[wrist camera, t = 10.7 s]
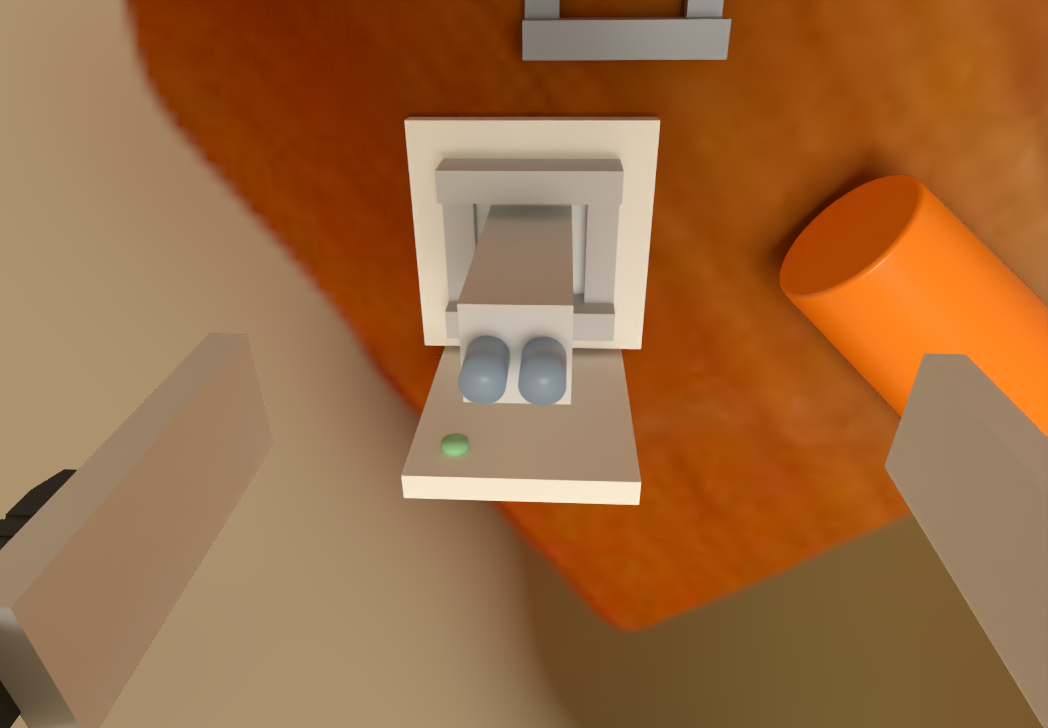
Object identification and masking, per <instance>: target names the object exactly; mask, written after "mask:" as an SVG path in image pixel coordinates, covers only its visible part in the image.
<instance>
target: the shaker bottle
mask: <svg viewBox="0 0 1048 728" xmlns="http://www.w3.org/2000/svg"><path fill="white" fill-rule="evenodd" d="M779 282H780V286H781V289H782V291H783V292H784V294H785V295H786V296H787V297H788V298H789V299H790V300H791V301H792V303H793V304H794V305H795V306H796V307H797V308H798V309H799V310H800V311H801V312H802V313H803V314H804V315H805V316H806V317H807V318H808V319H809V320H810V322H811V323H812V324H813V325H814V326H815V327H816V328H817V329H818V330H819V331H820V332H821V333H822V334H823V335H824V336H825V337H826V338H827V339H828V341H829V342H830V343H831V344H832V345H833V346H834V347H835V348H836V349H837V350H838V351H839V352H840V353H841V354H842V355H843V356H844V357H845V358H846V360H847V361H848V362H849V363H850V364H851V365H852V366H853V367H854V368H855V369H856V370H857V371H858V372H859V373H860V374H861V375H862V376H863V377H864V379H865V380H866V381H867V382H868V383H869V384H870V385H871V386H872V387H873V388H874V389H875V390H876V391H877V392H878V393H879V394H880V395H881V396H882V398H883V399H884V400H885V401H886V402H887V403H888V404H889V405H890V406H891V407H892V408H893V409H894V410H895V411H896V412H897V413H898V414H899V416H900V417H901V418H902V415H903V412H904V409H905V406H906V403H907V400H908V398H909V395H910V392H911V389H912V386H913V383H914V381H915V378H916V375H917V372H918V369H919V366H920V363H921V361H922V358H923V355H924V353H930V354H965V355H967V356H968V357H969V358H970V359H971V360H972V361H973V362H974V363H975V364H976V365H977V366H978V367H979V368H980V369H981V370H982V371H983V372H984V373H985V374H986V375H987V376H988V377H989V378H990V379H991V380H992V381H993V382H994V384H995V385H996V386H997V387H998V388H999V389H1000V390H1001V391H1002V392H1003V393H1004V394H1005V395H1006V396H1007V397H1008V398H1009V399H1010V400H1011V401H1012V402H1013V403H1014V404H1015V405H1016V406H1017V407H1018V408H1019V409H1020V410H1021V411H1022V412H1023V413H1024V414H1025V415H1026V416H1027V417H1028V418H1029V419H1030V420H1031V421H1032V422H1033V423H1034V424H1035V425H1036V426H1037V427H1038V428H1039V429H1040V430H1041V431H1042V432H1043V433H1044V434H1045V435H1046V436H1047V437H1048V307H1047V306H1046V305H1045V304H1044V303H1043V302H1042V301H1041V300H1040V299H1039V298H1038V297H1037V296H1036V295H1035V294H1034V293H1033V292H1032V291H1031V290H1030V289H1029V288H1028V287H1027V286H1026V285H1025V284H1024V283H1023V282H1022V281H1021V280H1020V279H1019V278H1018V277H1017V276H1016V275H1015V274H1014V273H1013V272H1012V271H1011V270H1010V269H1009V268H1007V267H1006V266H1005V265H1004V264H1003V263H1002V262H1001V261H1000V260H999V259H998V258H997V257H996V256H995V255H994V254H993V253H992V252H991V251H990V250H989V249H988V248H987V247H986V246H985V245H984V244H983V243H982V242H981V241H980V240H979V239H978V238H977V237H976V236H975V235H974V234H973V233H972V232H971V231H970V230H969V229H968V228H967V227H966V226H965V225H964V224H963V223H962V222H961V221H960V220H959V219H958V218H957V217H956V216H955V215H954V214H953V213H952V212H951V211H950V210H949V209H948V208H947V207H946V206H945V205H944V204H943V203H942V202H941V201H940V200H939V199H938V198H937V197H936V196H935V195H934V194H933V193H932V192H931V191H930V190H929V189H928V188H927V187H926V186H925V185H924V184H923V183H922V182H921V181H920V180H918V179H916V178H914V177H912V176H909V175H892V176H885V177H882V178H878V179H875V180H872V181H870V182H868V183H865V184H863V185H861V186H859V187H857V188H855V189H854V190H852V191H850V192H848V193H847V194H845V195H844V196H842V197H841V198H839V199H838V200H836V201H835V202H833V203H832V204H831V205H830V206H828V207H827V208H826V209H824V210H823V211H822V212H821V213H820V214H819V215H818V216H817V217H816V218H814V219H813V220H812V221H811V222H810V224H809V225H808V226H807V227H806V228H805V229H804V230H803V231H802V232H801V234H800V235H799V236H798V237H797V239H796V240H795V241H794V243H793V244H792V246H791V247H790V249H789V251H788V252H787V254H786V256H785V259H784V261H783V263H782V267H781V270H780V278H779Z"/></svg>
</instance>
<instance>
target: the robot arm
mask: <svg viewBox="0 0 1048 728" xmlns="http://www.w3.org/2000/svg"><path fill="white" fill-rule="evenodd" d="M273 444H274V443H273V439H272V435H271V431H270V426H269V422H268V419H267V414H266V410H265V406H264V402H263V398H262V394H261V389H260V385H259V381H258V377H257V373H256V369H255V365H254V361H253V357H252V353H251V348H250V344H249V340H248V336H247V334H221V333H210V334H208V335H207V337H206V338H205V339H204V340H203V341H202V342H201V343H200V344H199V345H198V346H197V347H196V348H195V349H194V350H193V351H192V352H191V353H190V354H189V355H188V356H187V357H186V358H185V360H184V361H182V362H181V364H180V365H179V366H178V367H177V368H176V369H175V370H174V371H173V372H172V373H171V374H170V375H169V376H168V377H167V378H166V379H165V380H164V381H163V382H162V383H161V384H160V385H159V386H158V387H157V388H156V389H155V390H154V392H153V393H152V394H151V395H150V396H149V397H148V398H147V399H146V400H145V401H144V402H143V403H142V404H141V405H140V406H139V407H138V408H137V409H136V410H135V411H134V412H133V413H132V414H131V415H130V416H129V417H128V419H127V420H125V421H124V423H123V424H122V425H121V426H120V427H119V428H118V429H117V430H116V431H115V432H114V433H113V434H112V435H111V436H110V437H109V438H108V439H107V440H106V441H105V442H104V443H103V444H102V445H101V446H100V447H99V448H98V449H97V451H96V452H95V453H94V454H93V455H92V456H91V457H90V458H89V459H88V460H87V461H86V462H85V463H84V464H83V465H82V466H81V467H80V468H79V469H78V470H67V469H65V470H63V471H61V472H59V473H57V474H56V475H54V476H53V477H51V478H49V479H48V480H47V481H44V482H43V483H41V484H40V485H38V486H36V487H35V488H33V489H32V490H30V491H29V492H28V493H27V494H26V495H25V496H24V497H23V498H22V499H21V500H20V501H19V502H18V503H17V504H16V505H15V506H14V507H13V508H12V509H11V510H10V511H9V512H8V513H7V514H6V518H5V520H3V519H1V520H0V728H10V727H11V726H12V724H13V723H14V722H15V720H16V719H17V717H18V716H19V715H20V716H21V717H22V719H23V720H24V721H25V723H26V725H27V726H28V728H100V726H101V724H102V723H103V721H104V720H105V718H106V716H107V715H108V713H109V711H110V710H111V708H112V706H113V705H114V703H115V702H116V700H117V698H118V697H119V695H120V694H121V692H122V690H123V689H124V687H125V685H126V684H127V682H128V680H129V679H130V677H131V676H132V674H133V672H134V671H135V669H136V667H137V666H138V664H139V662H140V661H141V659H142V658H143V656H144V654H145V653H146V651H147V650H148V648H149V646H150V644H151V643H152V641H153V640H154V638H155V636H156V635H157V633H158V632H159V630H160V628H161V627H162V625H163V624H164V622H165V620H166V619H167V617H168V615H169V614H170V612H171V611H172V609H173V607H174V606H175V604H176V602H177V601H178V599H179V597H180V596H181V594H182V592H183V591H184V589H185V588H186V586H187V584H188V583H189V581H190V579H191V578H192V576H193V575H194V573H195V571H196V570H197V568H198V567H199V565H200V563H201V561H202V560H203V558H204V557H205V555H206V554H207V552H208V550H209V549H210V547H211V545H212V543H213V542H214V541H215V539H216V537H217V535H218V534H219V532H220V531H221V529H222V527H223V526H224V524H225V522H226V521H227V519H228V518H229V516H230V514H231V513H232V511H233V509H234V508H235V506H236V505H237V503H238V501H239V500H240V498H241V497H242V495H243V493H244V492H245V490H246V488H247V487H248V485H249V483H250V482H251V480H252V479H253V477H254V475H255V474H256V472H257V470H258V469H259V467H260V466H261V464H262V462H263V461H264V459H265V457H266V456H267V454H268V453H269V451H270V449H271V448H272V446H273ZM884 467H885V469H886V470H887V472H888V474H889V475H890V477H891V479H892V480H893V482H894V484H895V485H896V487H897V488H898V490H899V492H900V493H901V495H902V497H903V498H904V500H905V502H906V503H907V505H908V506H909V508H910V510H911V511H912V513H913V515H914V516H915V518H916V520H917V521H918V523H919V524H920V526H921V528H922V529H923V531H924V533H925V534H926V536H927V538H928V539H929V541H930V543H931V544H932V546H933V547H934V549H935V551H936V552H937V554H938V556H939V557H940V559H941V561H942V562H943V564H944V565H945V567H946V569H947V570H948V572H949V573H950V575H951V577H952V578H953V580H954V582H955V584H956V585H957V587H958V588H959V590H960V592H961V593H962V595H963V597H964V598H965V600H966V602H967V603H968V605H969V607H970V608H971V610H972V611H973V613H974V615H975V616H976V618H977V620H978V621H979V623H980V624H981V626H982V628H983V629H984V631H985V633H986V634H987V636H988V638H989V639H990V641H991V642H992V644H993V646H994V647H995V649H996V651H997V652H998V654H999V656H1000V657H1001V659H1002V660H1003V662H1004V664H1005V665H1006V667H1007V669H1008V670H1009V672H1010V674H1011V675H1012V677H1013V679H1014V680H1015V682H1016V684H1017V685H1018V687H1019V688H1020V690H1021V692H1022V693H1023V695H1024V697H1025V698H1026V700H1027V702H1028V703H1029V705H1030V706H1031V708H1032V710H1033V711H1034V713H1035V715H1036V716H1037V718H1038V720H1039V721H1040V723H1041V725H1042V726H1043V728H1048V437H1047V436H1046V435H1045V434H1044V433H1043V432H1042V431H1041V430H1040V429H1039V428H1038V427H1037V426H1036V425H1035V424H1034V423H1033V422H1032V421H1031V420H1030V419H1029V418H1028V417H1027V416H1026V415H1025V414H1024V413H1023V412H1022V411H1021V410H1020V409H1019V408H1018V407H1017V406H1016V405H1015V404H1014V403H1013V402H1012V401H1011V400H1010V399H1009V398H1008V397H1007V396H1006V395H1005V394H1004V393H1003V392H1002V391H1001V390H1000V389H999V388H998V387H997V386H996V385H995V384H994V382H993V381H992V380H991V379H990V378H989V377H988V376H987V375H986V374H985V373H984V372H983V371H982V370H981V369H980V368H979V367H978V366H977V365H976V364H975V363H974V362H973V361H972V360H971V359H970V358H969V357H968V356H967V355H965V354H930V353H924V355H923V358H922V361H921V363H920V366H919V369H918V372H917V375H916V378H915V381H914V383H913V386H912V389H911V392H910V395H909V398H908V400H907V403H906V406H905V409H904V412H903V415H902V418H901V420H900V423H899V426H898V429H897V432H896V435H895V438H894V440H893V443H892V446H891V449H890V452H889V455H888V458H887V460H886V463H885V466H884Z"/></svg>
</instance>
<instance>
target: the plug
mask: <svg viewBox="0 0 1048 728" xmlns="http://www.w3.org/2000/svg"><path fill="white" fill-rule="evenodd" d="M457 309H458V325H459V341H460V357H461V371H460V375H459V379H458V387H459V390H460V392H461V393H462V395H463V402H473V403H476V404H481V405H486V404H491V403H523V404H534V405H538V406H548V405H552V404H568V405H571V379H572V344H573V310H574V300H573V251H572V206H529V205H491V207H490V210H489V213H488V216H487V219H486V222H485V225H484V228H483V231H482V233H481V236H480V239H479V242H478V245H477V248H476V251H475V254H474V257H473V260H472V262H471V265H470V268H469V271H468V274H467V277H466V280H465V283H464V286H463V289H462V291H461V294H460V297H459V300H458V303H457Z"/></svg>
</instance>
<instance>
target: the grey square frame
mask: <svg viewBox="0 0 1048 728" xmlns="http://www.w3.org/2000/svg"><path fill="white" fill-rule="evenodd" d="M723 3H724V0H685V2H684V13H683V16H673V17H559V13H560V0H525V19H524V20H523V21H522V46H523V60H725V59H727V52H728V44H729V36H730V28H731V20H732V19H729V18H724V17H722V11H723Z"/></svg>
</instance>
